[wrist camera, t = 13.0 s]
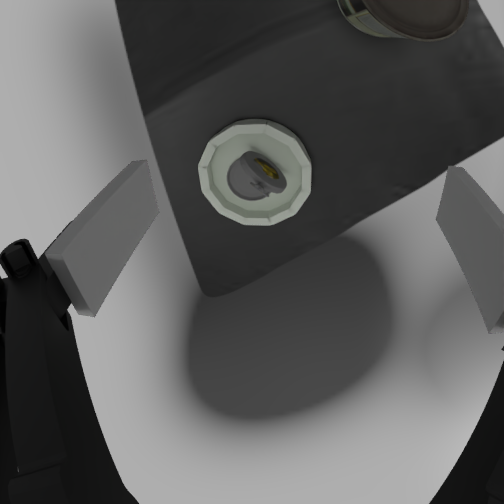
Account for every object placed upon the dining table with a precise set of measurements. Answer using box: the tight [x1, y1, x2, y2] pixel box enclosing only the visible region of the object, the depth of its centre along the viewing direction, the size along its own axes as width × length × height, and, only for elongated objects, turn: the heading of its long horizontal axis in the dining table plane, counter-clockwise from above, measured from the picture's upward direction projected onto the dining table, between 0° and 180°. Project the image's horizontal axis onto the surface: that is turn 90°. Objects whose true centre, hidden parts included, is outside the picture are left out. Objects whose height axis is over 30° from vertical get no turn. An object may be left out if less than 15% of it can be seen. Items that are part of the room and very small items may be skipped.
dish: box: [198, 118, 311, 225], centre depth 42 cm, size 15×15×3 cm
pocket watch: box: [227, 151, 287, 201], centre depth 38 cm, size 8×8×10 cm
